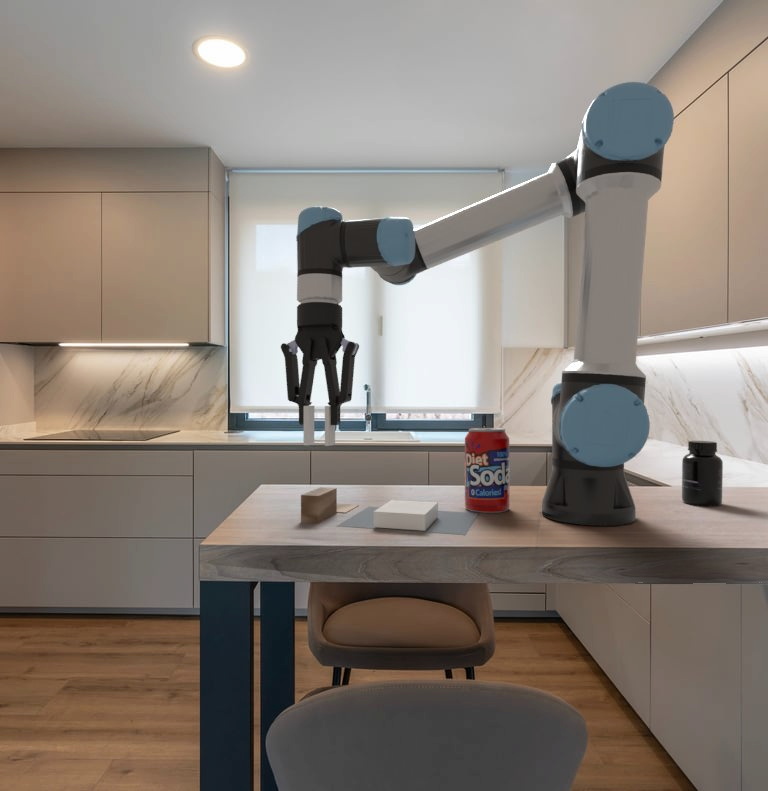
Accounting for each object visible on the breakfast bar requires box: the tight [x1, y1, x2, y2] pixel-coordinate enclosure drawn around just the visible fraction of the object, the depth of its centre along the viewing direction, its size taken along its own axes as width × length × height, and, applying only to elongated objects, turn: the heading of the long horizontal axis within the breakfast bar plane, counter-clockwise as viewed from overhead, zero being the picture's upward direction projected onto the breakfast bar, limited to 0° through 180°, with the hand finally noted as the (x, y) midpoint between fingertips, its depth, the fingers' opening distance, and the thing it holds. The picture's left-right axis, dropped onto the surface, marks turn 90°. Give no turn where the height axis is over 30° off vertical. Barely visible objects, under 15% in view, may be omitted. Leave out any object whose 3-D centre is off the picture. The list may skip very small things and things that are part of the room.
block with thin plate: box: [300, 487, 360, 524], centre depth 97 cm, size 6×16×5 cm, turn 163°
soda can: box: [464, 427, 510, 514], centre depth 100 cm, size 8×8×15 cm
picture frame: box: [374, 499, 439, 531], centre depth 89 cm, size 8×3×10 cm
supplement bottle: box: [681, 440, 724, 507], centre depth 109 cm, size 7×7×12 cm
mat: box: [336, 506, 480, 536], centre depth 92 cm, size 20×16×1 cm
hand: (319, 444), depth 94 cm, fingers open, 3 cm apart
